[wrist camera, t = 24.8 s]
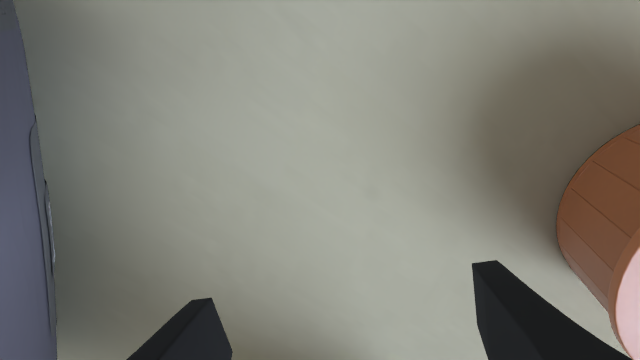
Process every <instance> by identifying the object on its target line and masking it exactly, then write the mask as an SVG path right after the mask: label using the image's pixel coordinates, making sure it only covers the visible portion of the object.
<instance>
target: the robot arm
mask: <svg viewBox="0 0 640 360" xmlns="http://www.w3.org/2000/svg"><path fill="white" fill-rule="evenodd" d="M472 270H473V281H474V293H475V304H476V315H477V325H478V329H479V332H480V335H481V338H482V341H483V344H484V348H485V351H486V354H487V357H488V360H632V359H631V358H629V357H627V356H626V355H624V354H622V353H621V352H619V351H617V350H616V349H614V348H612V347H611V346H609V345H608V344H606V343H604V342H603V341H601V340H600V339H598V338H597V337H595V336H594V335H593V334H591V333H590V332H588V331H587V330H585V329H584V328H582V327H581V326H579V325H578V324H577V323H575V322H574V321H572V320H571V319H570V318H568V317H567V316H565V315H564V314H563V313H562V312H560V311H559V310H558V309H556V308H555V307H554V306H552V305H551V304H550V303H548V302H547V301H546V300H544V299H543V298H542V297H541V296H539V295H538V294H537V293H536V292H534V291H533V290H532V289H531V288H529V287H528V286H527V285H526V284H525V283H523V282H522V281H521V280H520V279H519V278H517V277H516V276H515V275H514V274H513V273H512V272H510V271H509V270H508V269H507V268H506V267H505V266H503V265H502V264H501V263H500V262H498V261H497V260H495V261H487V262H480V263H472ZM231 358H232V349H231V346H230V344H229V341H228V339H227V336H226V334H225V331H224V328H223V326H222V323H221V321H220V318H219V316H218V313H217V310H216V308H215V305H214V303H213V300H212V298H205V299H198V300H192V301H190V302H189V303H188V304H187V305H185V306H184V307H183V308H182V309H181V310H180V311H179V312H178V313H176V314H175V315H174V316H173V317H172V318H171V319H170V320H169V321H168V322H167V323H166V324H165V325H163V326H162V327H161V328H160V329H159V330H158V331H157V332H156V333H155V334H154V335H153V336H152V337H151V338H150V339H149V340H147V341H146V342H145V343H144V344H143V345H142V346H141V347H140V348H139V349H138V350H137V351H136V352H135V353H133V354H132V355H131V356H130V357H129V358H128V359H127V360H231Z"/></svg>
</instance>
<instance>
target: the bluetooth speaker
mask: <svg viewBox="0 0 640 360" xmlns="http://www.w3.org/2000/svg"><path fill="white" fill-rule="evenodd" d="M54 269H55V251H54V237H53V226H52V215H51V208H50V200H49V193H48V188H47V183H46V181H45V179H44V173H43V165H42V158H41V151H40V143H39V136H38V129H37V122H36V116H35V114H34V108H33V102H32V95H31V89H30V82H29V76H28V69H27V63H26V56H25V50H24V45H23V40H22V35H21V31H20V26H19V21H18V18H17V14H16V10H15V6H14V2H13V0H0V360H57V342H56V323H57V318H56V302H55V285H54Z"/></svg>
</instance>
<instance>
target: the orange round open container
mask: <svg viewBox="0 0 640 360" xmlns="http://www.w3.org/2000/svg"><path fill="white" fill-rule="evenodd" d="M639 228H640V125H638V126H635V127H633V128H631V129H629V130H627V131H625V132H623V133H622V134H620V135H618V136H616V137H615V138H613V139H612V140H610V141H609V142H607V143H606V144H605V145H603V146H602V147H601V148H599V149H598V150H597V151H596V152H595V153H594V154H593V155H592V156H590V157H589V158H588V159H587V161H586V162H585V163H584V164H583V165H582V166H581V167H580V168H579V169H578V171H577V172H576V174H575V175H574V176H573V178H572V179H571V181H570V183H569V184H568V186H567V188H566V190H565V192H564V194H563V197H562V199H561V202H560V205H559V209H558V213H557V223H556V230H557V239H558V243H559V247H560V249H561V251H562V254H563V256H564V257H565V259H566V260H567V262H568V264H569V266H570V267H571V269H572V270H573V271H574V272H575V273H576V275H577V276H578V277H579V278H580V279H581V281H582V282H583V283H584V284H585V285H586V287H587V288H588V289H589V290H590V291H591V293H592V294H593V295H594V296H595V297H596V299H597V300H598V301H599V302H600V303H601V305H602V306H603V307H604V308H605V309H606V311H607V312H608V293H609V287H610V281H611V278H612V275H613V272H614V269H615V266H616V264H617V262H618V260H619V258H620V256H621V254H622V252H623V250H624V249H625V247H626V246H627V244H628V243H629V241H630V240H631V238H632V236H633V235H634V234H635V233H636V231H637V230H638V229H639Z"/></svg>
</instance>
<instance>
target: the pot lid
mask: <svg viewBox="0 0 640 360" xmlns="http://www.w3.org/2000/svg"><path fill="white" fill-rule="evenodd" d="M608 313H609V318H610V323H611V327H612V329H613V331H614V334H615V336H616V338H617V340H618V341H619V343H620V344H621V346H622V347H623V349H624V350H625V351H626V353H627V354H628V355H629V356H630V357H631V359H632V360H640V228H639V229H638V230H637V231H636V233H635V234H634V235H633V236H632V238H631V240H630V241H629V243H628V244H627V246H626V247H625V249H624V250H623V252H622V254H621V256H620V258H619V260H618V262H617V264H616V266H615V269H614V272H613V275H612V278H611V281H610V287H609V293H608Z"/></svg>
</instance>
